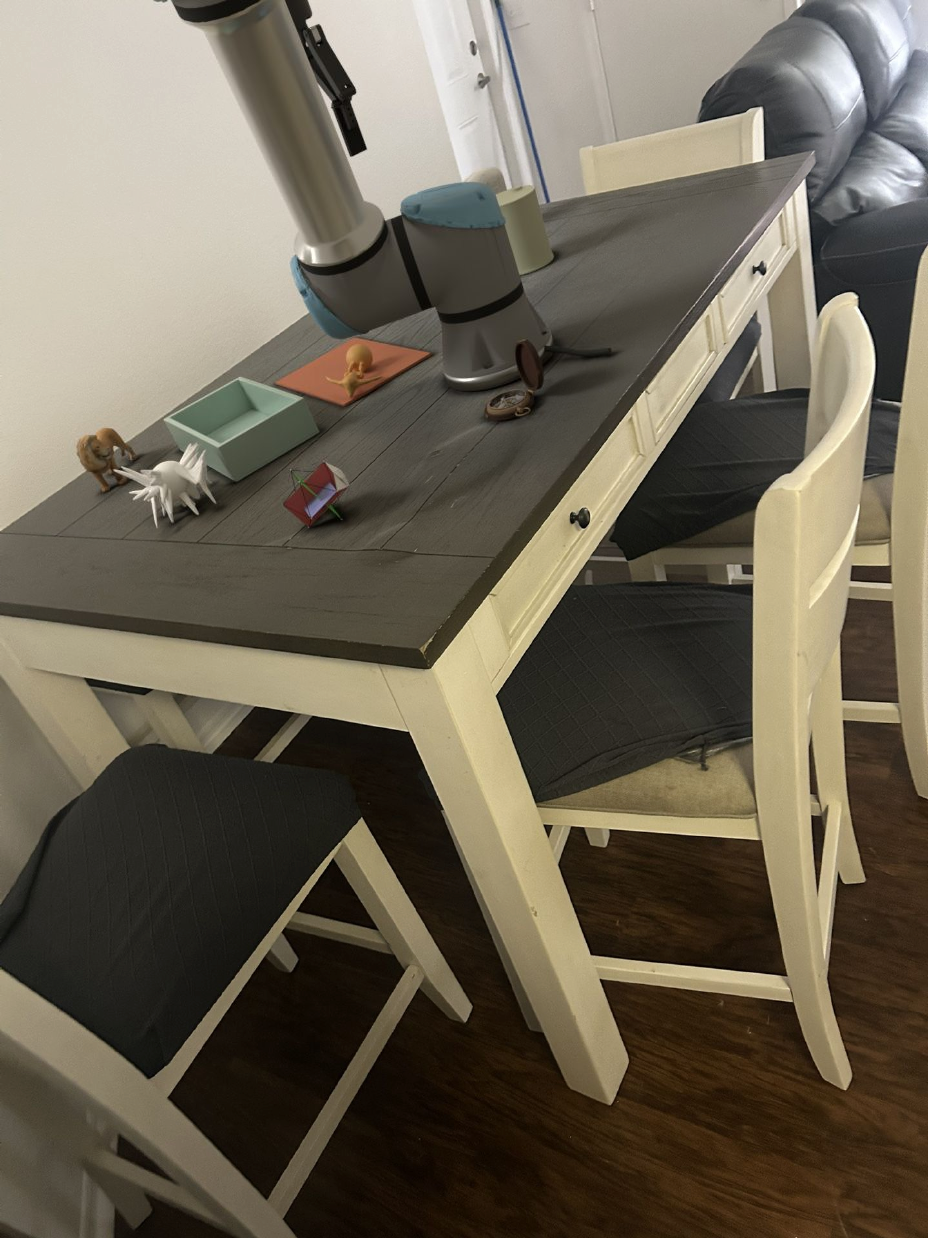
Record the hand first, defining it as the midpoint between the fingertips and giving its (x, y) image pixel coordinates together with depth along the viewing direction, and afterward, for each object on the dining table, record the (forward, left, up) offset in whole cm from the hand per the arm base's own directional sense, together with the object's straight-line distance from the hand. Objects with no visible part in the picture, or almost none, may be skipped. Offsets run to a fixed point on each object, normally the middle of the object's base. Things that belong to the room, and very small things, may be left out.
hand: (337, 155), depth 140 cm
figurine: (-12, +13, -23) cm, 29 cm away
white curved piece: (+15, -33, -27) cm, 45 cm away
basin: (-12, +36, -27) cm, 46 cm away
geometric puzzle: (-47, +41, -27) cm, 68 cm away
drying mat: (-8, +15, -27) cm, 32 cm away
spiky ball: (-24, +51, -27) cm, 62 cm away
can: (-7, -23, -27) cm, 36 cm away
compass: (-50, +14, -27) cm, 58 cm away
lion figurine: (+2, +52, -27) cm, 58 cm away
